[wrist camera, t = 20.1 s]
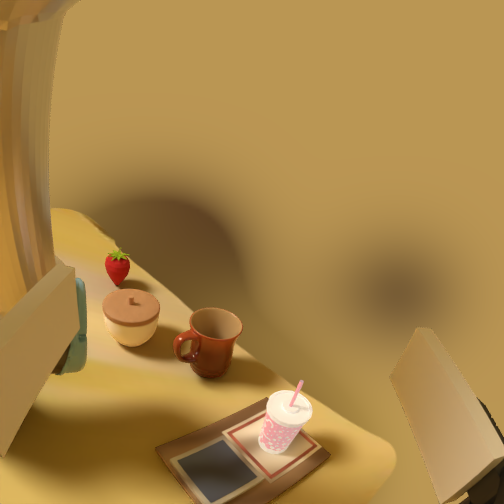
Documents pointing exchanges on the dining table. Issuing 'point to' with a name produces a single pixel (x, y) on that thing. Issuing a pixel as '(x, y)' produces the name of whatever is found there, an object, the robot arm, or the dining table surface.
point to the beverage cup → (283, 419)
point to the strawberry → (117, 266)
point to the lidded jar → (131, 316)
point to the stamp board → (238, 460)
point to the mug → (209, 341)
